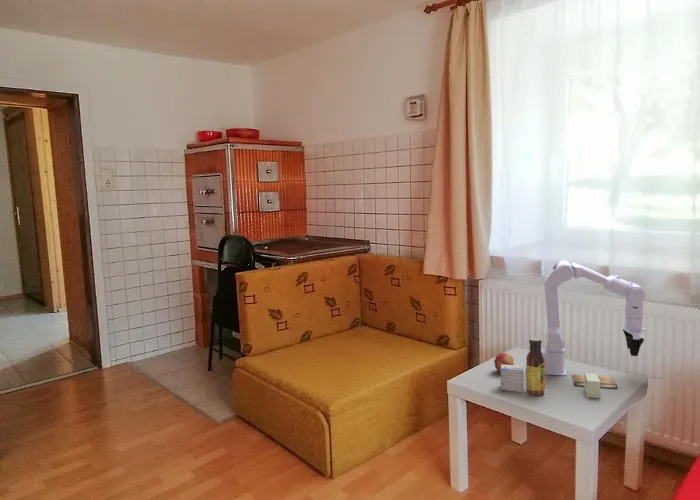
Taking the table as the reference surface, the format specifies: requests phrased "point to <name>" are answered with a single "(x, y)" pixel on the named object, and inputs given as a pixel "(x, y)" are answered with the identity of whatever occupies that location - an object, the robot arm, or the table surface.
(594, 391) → the carton
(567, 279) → the robot arm
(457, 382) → the table surface
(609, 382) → the brown book
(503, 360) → the fruit
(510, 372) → the medicine box
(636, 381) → the table surface
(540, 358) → the sauce bottle
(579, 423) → the table surface
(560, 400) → the table surface
